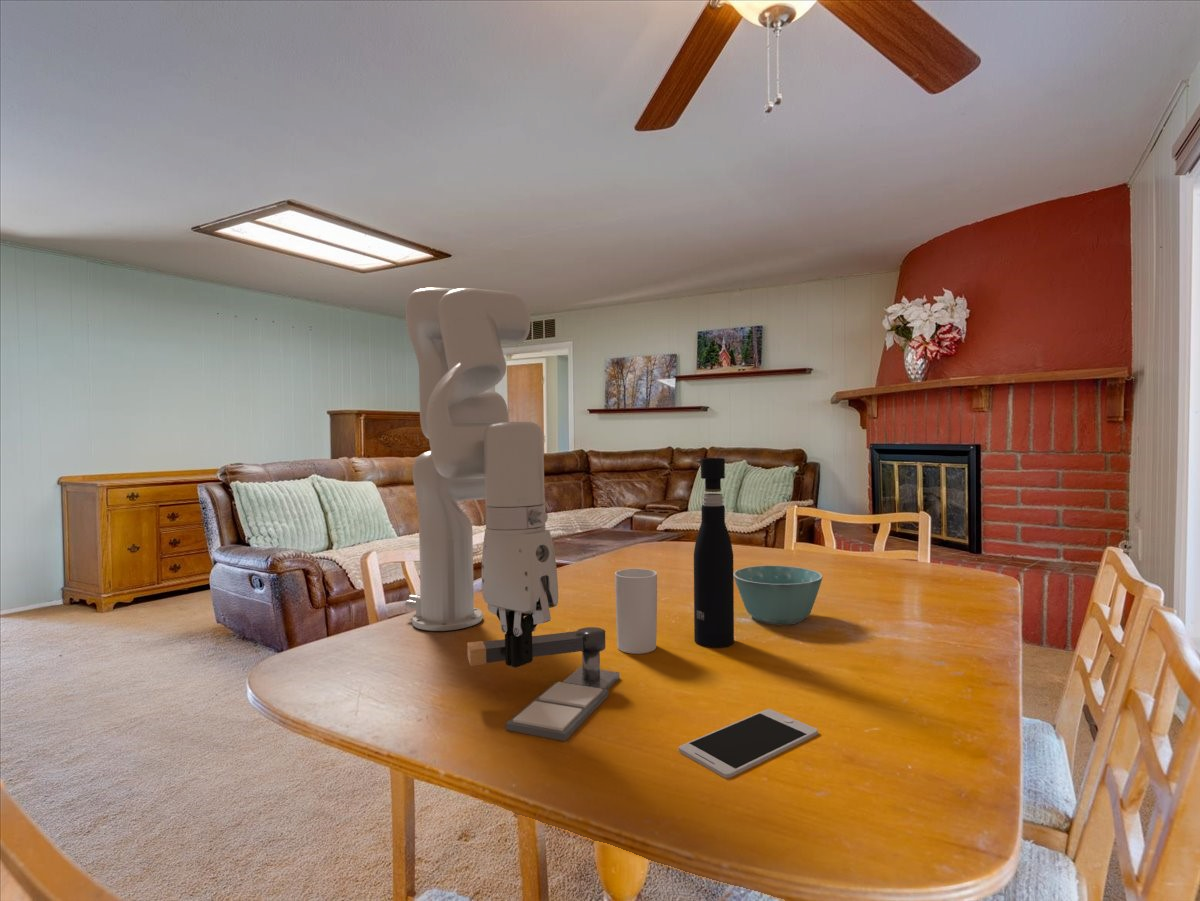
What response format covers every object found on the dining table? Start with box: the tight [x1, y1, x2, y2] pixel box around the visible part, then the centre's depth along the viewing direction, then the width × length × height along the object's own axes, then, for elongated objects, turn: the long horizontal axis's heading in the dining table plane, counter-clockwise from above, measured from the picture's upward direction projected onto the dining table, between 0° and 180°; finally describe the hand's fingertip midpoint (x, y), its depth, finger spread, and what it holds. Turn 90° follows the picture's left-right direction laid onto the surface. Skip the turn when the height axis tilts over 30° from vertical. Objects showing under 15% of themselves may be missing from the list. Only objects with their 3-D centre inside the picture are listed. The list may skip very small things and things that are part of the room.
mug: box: [614, 567, 658, 655], centre depth 103 cm, size 10×7×12 cm, turn 21°
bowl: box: [733, 565, 823, 626], centre depth 117 cm, size 16×16×8 cm
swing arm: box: [466, 626, 606, 667], centre depth 85 cm, size 18×4×2 cm, turn 108°
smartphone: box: [678, 708, 819, 779], centre depth 71 cm, size 7×16×1 cm, turn 127°
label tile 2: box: [532, 681, 609, 718], centre depth 82 cm, size 8×7×1 cm
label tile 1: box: [505, 700, 590, 742], centre depth 76 cm, size 8×7×1 cm
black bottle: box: [693, 457, 735, 649], centre depth 104 cm, size 6×6×30 cm
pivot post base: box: [562, 651, 620, 691], centre depth 88 cm, size 6×6×4 cm
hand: (519, 663), depth 81 cm, fingers closed
